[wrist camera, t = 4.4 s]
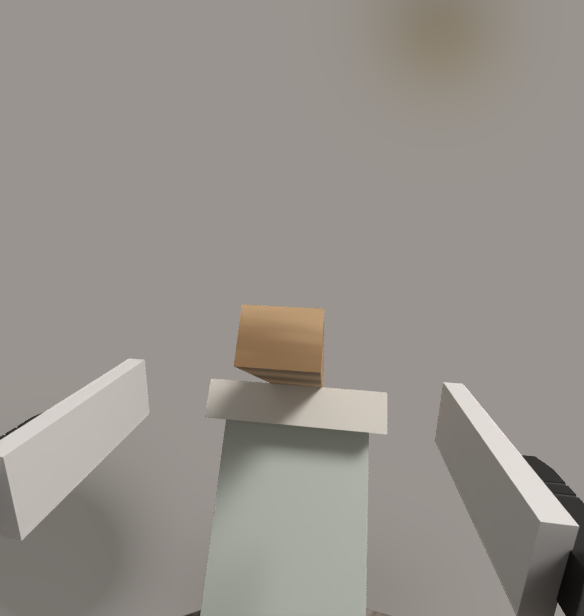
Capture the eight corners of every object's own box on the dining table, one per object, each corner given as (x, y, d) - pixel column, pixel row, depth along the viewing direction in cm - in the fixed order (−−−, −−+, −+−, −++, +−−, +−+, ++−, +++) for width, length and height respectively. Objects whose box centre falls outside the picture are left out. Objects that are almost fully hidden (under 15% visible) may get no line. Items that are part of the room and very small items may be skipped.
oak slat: (320, 372, 15) (324, 308, 16) (233, 366, 15) (241, 304, 16) (322, 395, 43) (323, 372, 44) (292, 392, 44) (294, 370, 45)
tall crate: (386, 999, 17) (387, 392, 25) (128, 927, 18) (211, 378, 27) (352, 683, 36) (359, 398, 44) (228, 661, 37) (257, 390, 46)
